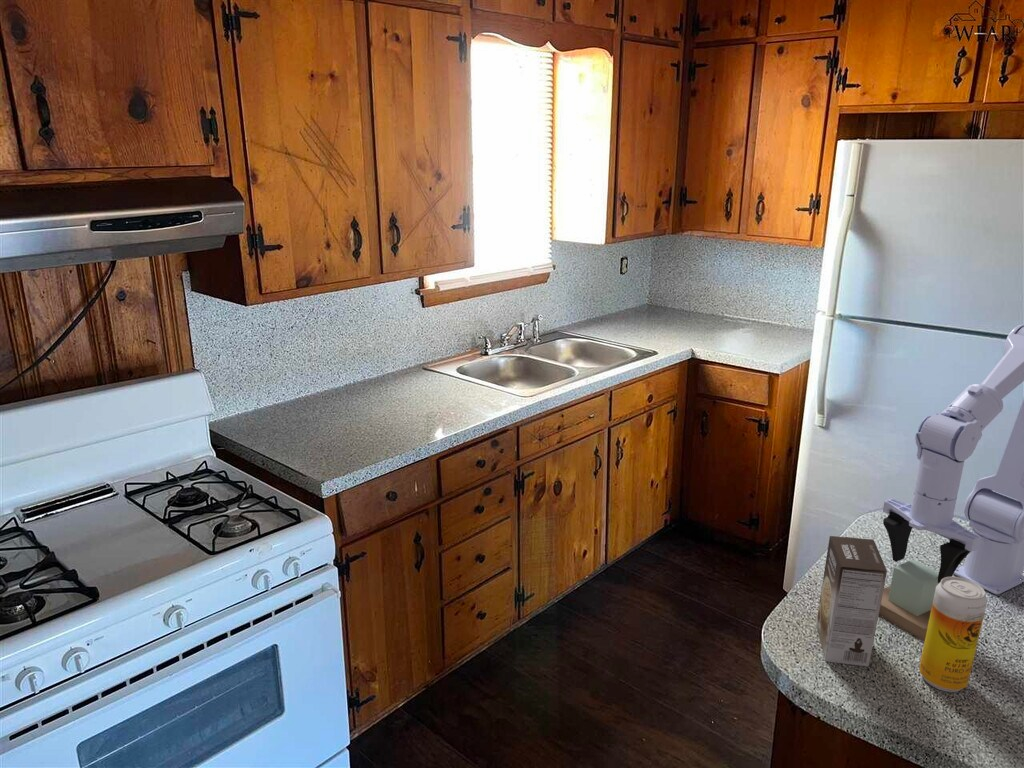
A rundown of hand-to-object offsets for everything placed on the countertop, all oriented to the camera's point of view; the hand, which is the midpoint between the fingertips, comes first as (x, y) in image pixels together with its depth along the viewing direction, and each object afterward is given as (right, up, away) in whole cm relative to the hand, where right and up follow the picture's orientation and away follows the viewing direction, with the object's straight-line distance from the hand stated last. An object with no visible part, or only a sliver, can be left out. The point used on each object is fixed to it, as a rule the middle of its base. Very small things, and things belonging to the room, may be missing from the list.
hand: (920, 570), depth 121 cm
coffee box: (-15, -10, -6) cm, 19 cm away
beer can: (-4, -12, -13) cm, 18 cm away
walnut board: (0, -8, +3) cm, 8 cm away
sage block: (0, -6, +2) cm, 6 cm away
